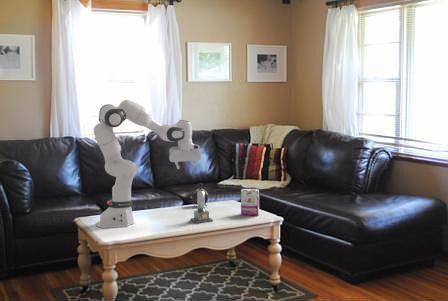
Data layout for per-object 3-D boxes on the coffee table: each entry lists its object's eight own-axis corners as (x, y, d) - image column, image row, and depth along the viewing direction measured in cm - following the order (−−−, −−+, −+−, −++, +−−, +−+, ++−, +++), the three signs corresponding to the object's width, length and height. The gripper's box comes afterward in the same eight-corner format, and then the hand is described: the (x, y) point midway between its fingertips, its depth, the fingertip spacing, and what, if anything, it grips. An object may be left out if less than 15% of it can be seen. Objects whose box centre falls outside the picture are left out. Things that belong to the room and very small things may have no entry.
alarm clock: (208, 205, 380) (208, 182, 378) (207, 207, 375) (207, 183, 373) (193, 205, 381) (192, 182, 379) (191, 207, 376) (191, 183, 374)
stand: (196, 223, 331) (196, 213, 330) (190, 220, 339) (190, 210, 339) (212, 221, 336) (212, 211, 335) (206, 218, 344) (206, 208, 343)
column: (199, 212, 334) (198, 192, 332) (196, 210, 338) (195, 191, 336) (206, 211, 336) (205, 192, 334) (203, 210, 340) (202, 190, 338)
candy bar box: (259, 214, 354) (259, 189, 352) (258, 216, 349) (258, 190, 347) (242, 213, 356) (242, 188, 354) (240, 215, 352) (240, 189, 350)
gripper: (171, 147, 335) (171, 170, 336) (202, 145, 343) (202, 167, 345) (167, 146, 340) (168, 168, 342) (198, 144, 349) (198, 166, 351)
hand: (185, 168), depth 343 cm, fingers open, 8 cm apart
